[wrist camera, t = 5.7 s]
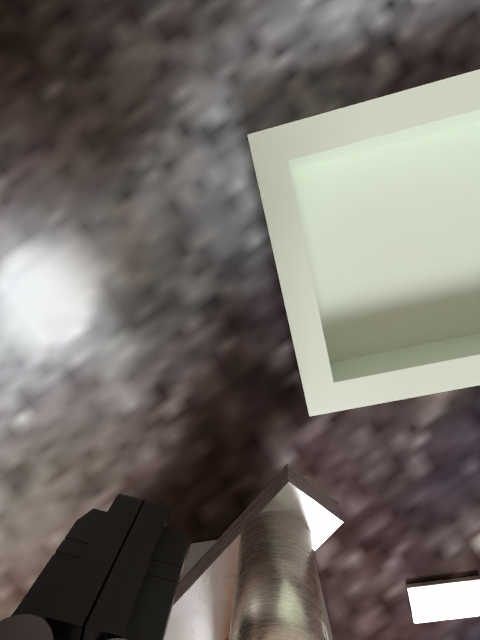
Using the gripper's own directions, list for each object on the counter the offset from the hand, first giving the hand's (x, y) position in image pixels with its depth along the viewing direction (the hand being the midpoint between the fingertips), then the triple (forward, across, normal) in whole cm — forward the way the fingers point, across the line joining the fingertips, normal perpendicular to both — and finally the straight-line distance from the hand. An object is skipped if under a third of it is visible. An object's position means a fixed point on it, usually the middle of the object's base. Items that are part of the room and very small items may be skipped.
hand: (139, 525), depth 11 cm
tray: (+5, -6, -9) cm, 12 cm away
